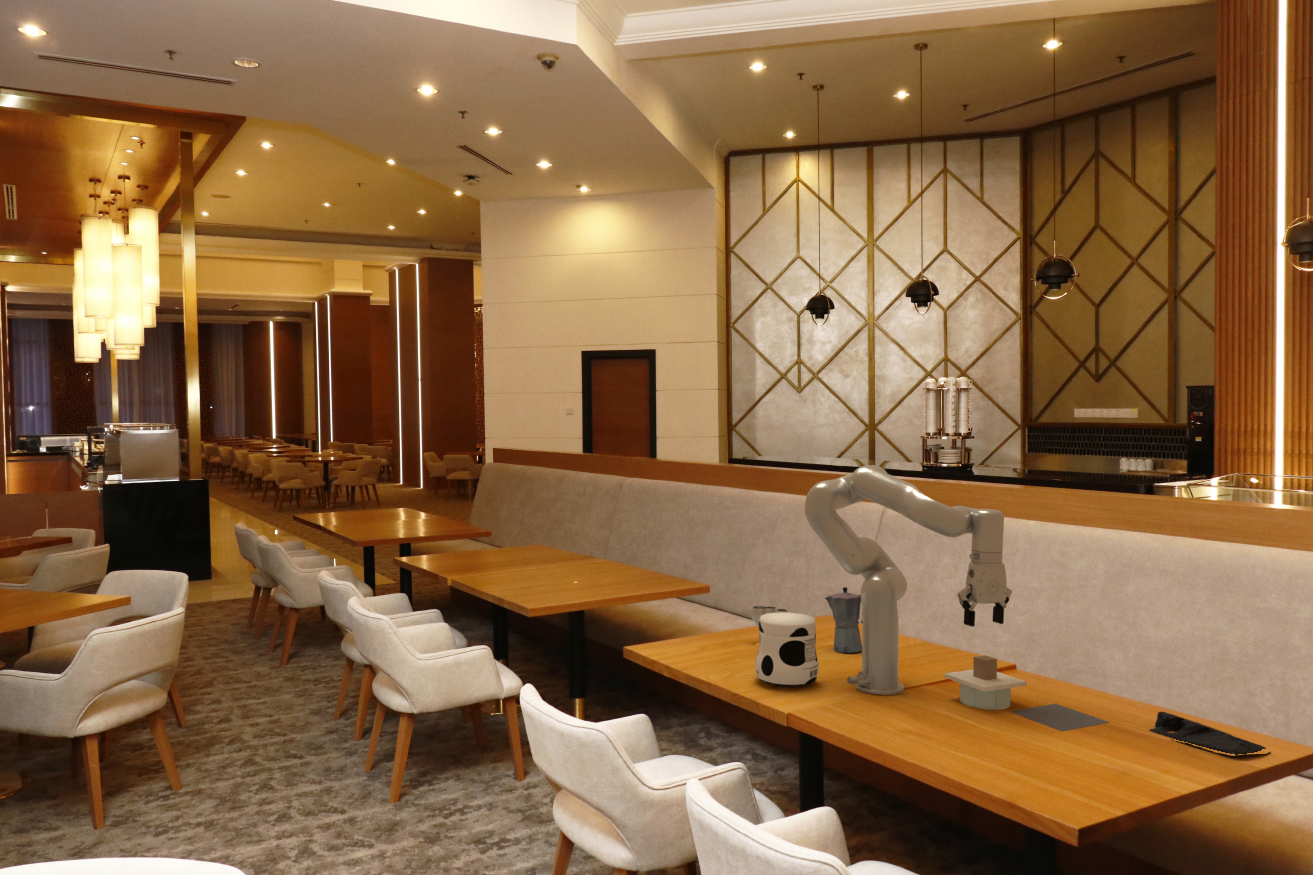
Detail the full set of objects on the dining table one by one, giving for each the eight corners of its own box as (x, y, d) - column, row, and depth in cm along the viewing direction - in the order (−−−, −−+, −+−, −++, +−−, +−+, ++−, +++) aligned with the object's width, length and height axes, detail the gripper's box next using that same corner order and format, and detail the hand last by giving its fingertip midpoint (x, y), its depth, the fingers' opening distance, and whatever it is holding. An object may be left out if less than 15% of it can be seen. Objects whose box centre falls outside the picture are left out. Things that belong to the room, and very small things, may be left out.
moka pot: (823, 645, 296) (824, 583, 296) (872, 647, 294) (873, 585, 294) (824, 653, 287) (825, 589, 287) (875, 655, 285) (876, 590, 284)
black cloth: (1229, 764, 196) (1229, 742, 196) (1140, 732, 216) (1141, 712, 216) (1278, 755, 201) (1278, 734, 201) (1187, 724, 222) (1187, 705, 222)
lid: (984, 691, 226) (984, 667, 226) (944, 677, 239) (944, 654, 238) (1026, 685, 232) (1026, 661, 232) (985, 671, 244) (985, 649, 244)
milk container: (752, 673, 263) (753, 610, 262) (813, 674, 262) (814, 611, 262) (757, 691, 245) (758, 624, 245) (822, 692, 245) (823, 625, 245)
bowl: (984, 714, 227) (985, 690, 227) (950, 700, 238) (950, 677, 238) (1020, 708, 232) (1021, 684, 232) (985, 695, 243) (985, 672, 243)
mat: (1061, 733, 213) (1061, 731, 213) (1009, 713, 228) (1009, 711, 228) (1110, 724, 220) (1110, 722, 220) (1055, 705, 235) (1055, 703, 235)
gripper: (971, 561, 228) (968, 629, 228) (1023, 558, 235) (1020, 625, 235) (949, 556, 234) (947, 623, 235) (1000, 554, 242) (998, 618, 242)
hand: (983, 623), depth 235 cm, fingers open, 9 cm apart
